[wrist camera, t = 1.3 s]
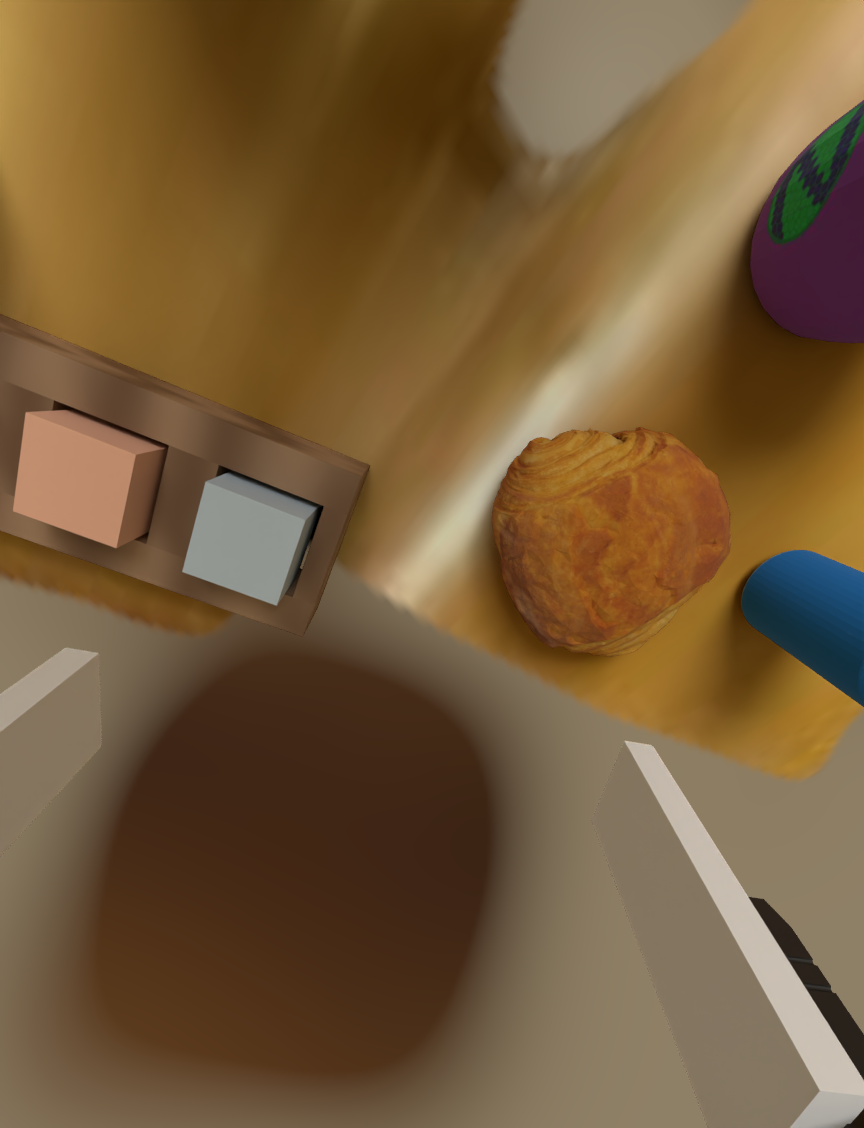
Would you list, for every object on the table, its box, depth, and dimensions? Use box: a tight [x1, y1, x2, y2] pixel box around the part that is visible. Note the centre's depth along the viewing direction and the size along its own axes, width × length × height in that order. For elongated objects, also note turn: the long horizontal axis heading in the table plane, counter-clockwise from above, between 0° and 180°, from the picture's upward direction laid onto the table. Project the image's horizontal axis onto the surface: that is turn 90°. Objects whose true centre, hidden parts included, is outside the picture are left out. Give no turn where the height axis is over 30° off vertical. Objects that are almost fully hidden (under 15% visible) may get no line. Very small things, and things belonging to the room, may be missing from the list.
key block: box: [0, 314, 370, 637], centre depth 30 cm, size 27×11×4 cm, turn 67°
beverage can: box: [741, 550, 864, 707], centre depth 29 cm, size 6×6×12 cm
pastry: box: [492, 427, 731, 657], centre depth 31 cm, size 14×16×8 cm
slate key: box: [182, 471, 321, 606], centre depth 28 cm, size 5×5×4 cm
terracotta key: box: [13, 409, 169, 548], centre depth 27 cm, size 5×5×4 cm
